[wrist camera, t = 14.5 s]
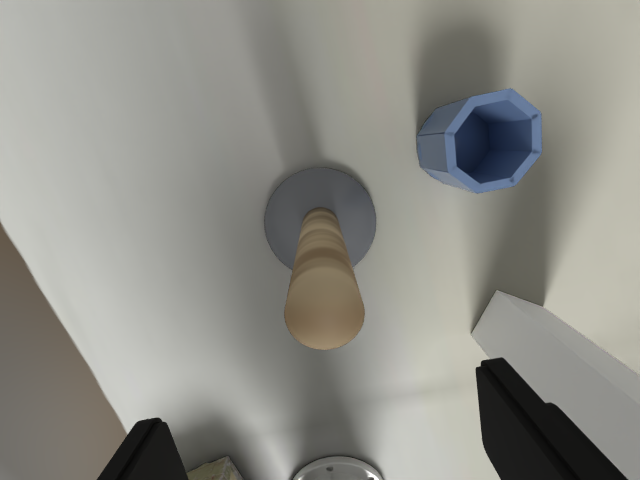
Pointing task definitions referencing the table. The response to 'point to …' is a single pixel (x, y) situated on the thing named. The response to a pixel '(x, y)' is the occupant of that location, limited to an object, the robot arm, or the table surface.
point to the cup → (481, 141)
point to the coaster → (319, 192)
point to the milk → (568, 374)
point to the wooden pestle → (323, 286)
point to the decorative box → (216, 471)
